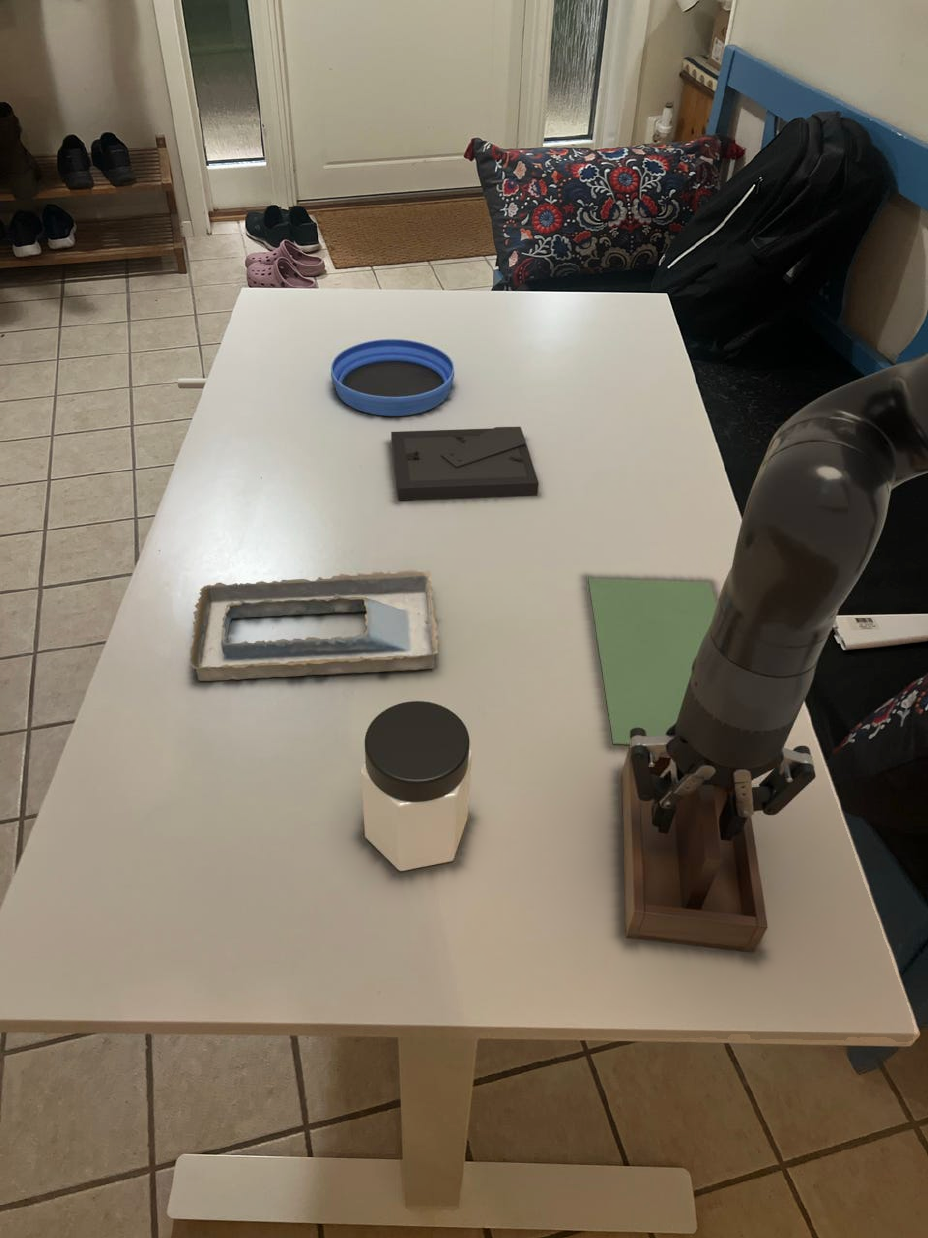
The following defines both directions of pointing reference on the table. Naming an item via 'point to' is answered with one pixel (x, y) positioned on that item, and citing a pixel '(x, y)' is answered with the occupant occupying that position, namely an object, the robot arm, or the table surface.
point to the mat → (648, 648)
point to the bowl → (392, 377)
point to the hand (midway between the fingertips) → (693, 827)
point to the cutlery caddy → (690, 872)
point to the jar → (416, 783)
